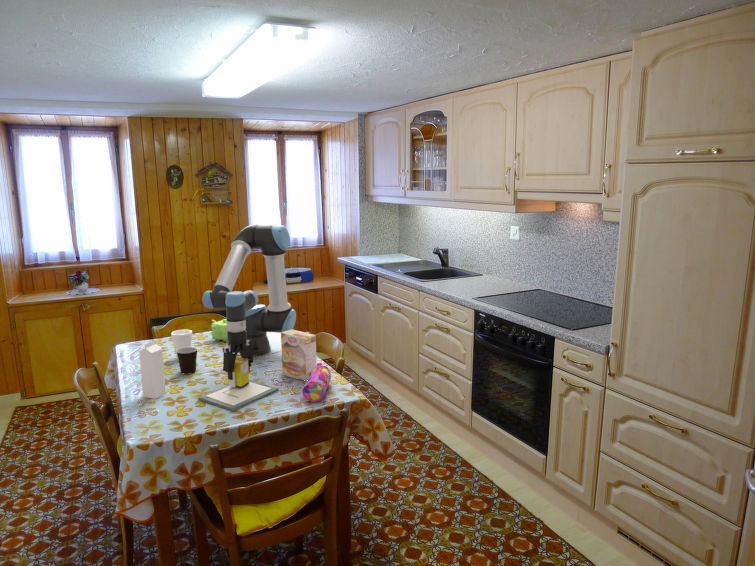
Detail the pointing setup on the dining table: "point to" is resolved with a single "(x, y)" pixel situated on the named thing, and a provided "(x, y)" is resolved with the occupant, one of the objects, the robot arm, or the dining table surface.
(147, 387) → the milk
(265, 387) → the paper pad
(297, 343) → the coffeecake box
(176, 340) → the foam cup
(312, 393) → the pencil case
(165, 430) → the dining table surface
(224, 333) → the green lumpy block
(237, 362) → the supplement box
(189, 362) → the coffee mug
